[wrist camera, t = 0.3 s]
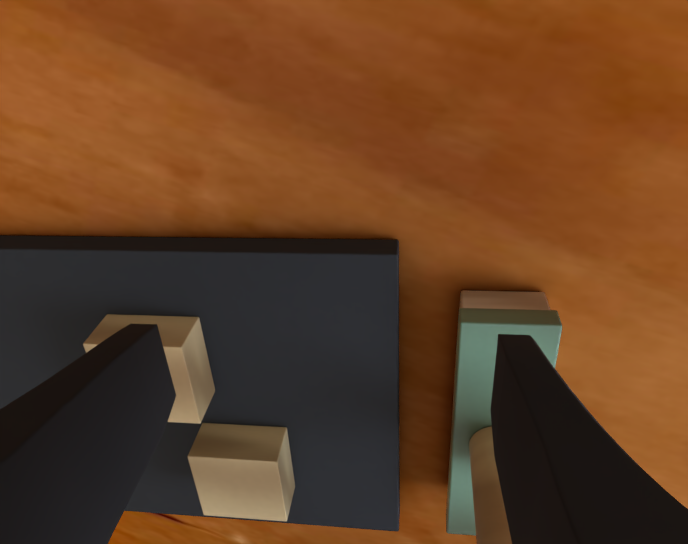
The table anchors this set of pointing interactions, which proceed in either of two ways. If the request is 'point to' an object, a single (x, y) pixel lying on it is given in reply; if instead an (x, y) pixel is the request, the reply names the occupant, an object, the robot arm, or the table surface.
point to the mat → (235, 351)
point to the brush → (486, 404)
